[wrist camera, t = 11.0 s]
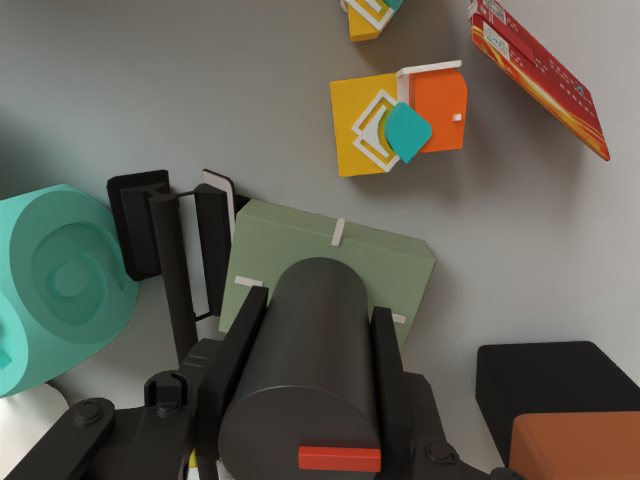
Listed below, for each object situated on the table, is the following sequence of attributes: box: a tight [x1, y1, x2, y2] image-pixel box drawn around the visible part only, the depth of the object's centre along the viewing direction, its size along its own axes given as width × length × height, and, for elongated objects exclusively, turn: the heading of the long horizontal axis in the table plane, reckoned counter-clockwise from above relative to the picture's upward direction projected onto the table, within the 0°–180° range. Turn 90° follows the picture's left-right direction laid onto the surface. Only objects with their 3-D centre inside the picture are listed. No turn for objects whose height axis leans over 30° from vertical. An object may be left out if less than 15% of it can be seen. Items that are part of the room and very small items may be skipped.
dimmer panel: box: [219, 199, 436, 356], centre depth 21 cm, size 10×9×3 cm
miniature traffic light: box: [107, 169, 251, 480], centre depth 25 cm, size 7×6×30 cm
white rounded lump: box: [0, 383, 69, 480], centre depth 24 cm, size 10×11×12 cm
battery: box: [476, 341, 640, 480], centre depth 19 cm, size 4×7×10 cm, turn 96°
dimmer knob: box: [218, 257, 382, 480], centre depth 15 cm, size 5×5×9 cm
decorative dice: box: [0, 183, 139, 399], centre depth 19 cm, size 8×8×8 cm
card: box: [468, 0, 610, 161], centre depth 15 cm, size 8×1×5 cm
